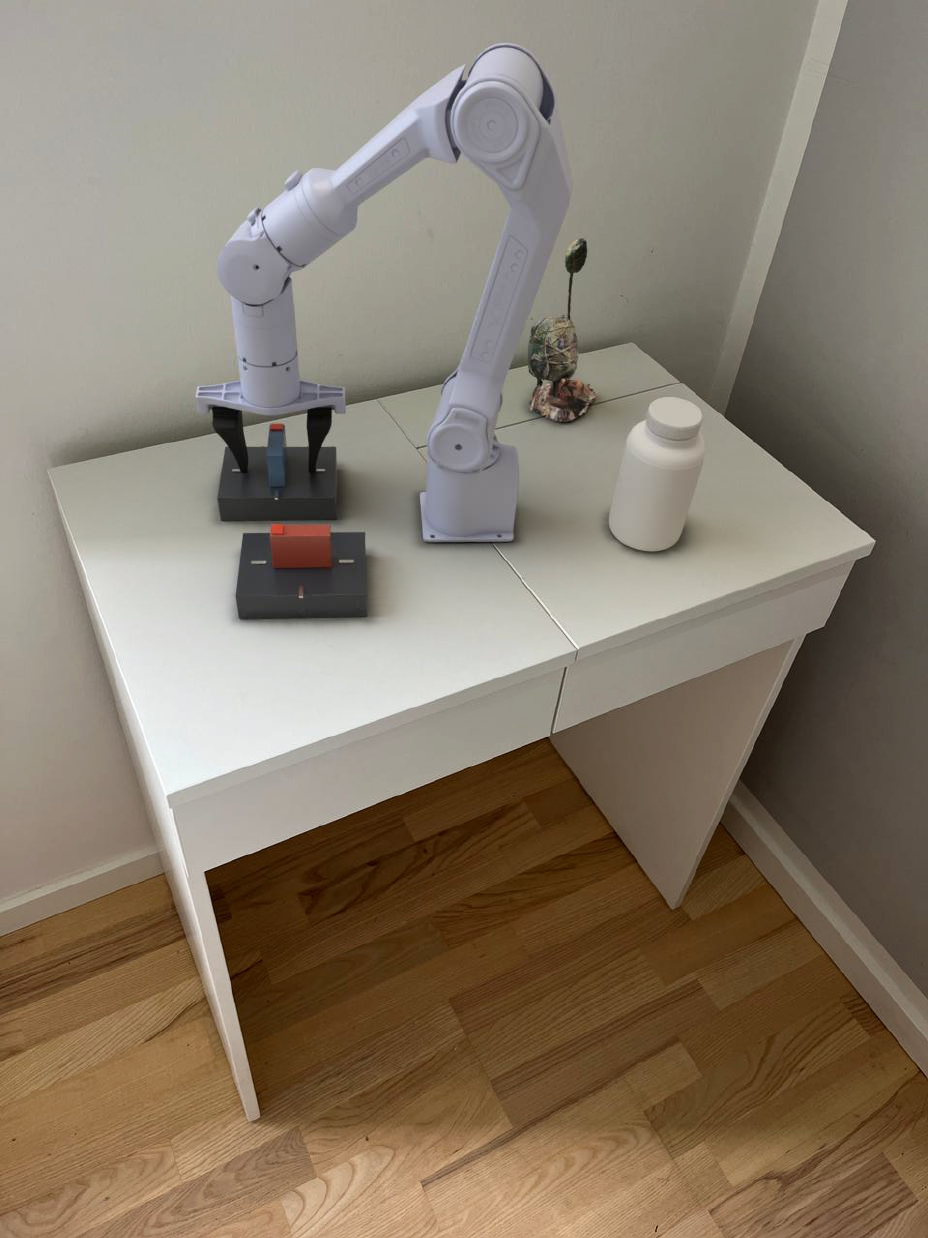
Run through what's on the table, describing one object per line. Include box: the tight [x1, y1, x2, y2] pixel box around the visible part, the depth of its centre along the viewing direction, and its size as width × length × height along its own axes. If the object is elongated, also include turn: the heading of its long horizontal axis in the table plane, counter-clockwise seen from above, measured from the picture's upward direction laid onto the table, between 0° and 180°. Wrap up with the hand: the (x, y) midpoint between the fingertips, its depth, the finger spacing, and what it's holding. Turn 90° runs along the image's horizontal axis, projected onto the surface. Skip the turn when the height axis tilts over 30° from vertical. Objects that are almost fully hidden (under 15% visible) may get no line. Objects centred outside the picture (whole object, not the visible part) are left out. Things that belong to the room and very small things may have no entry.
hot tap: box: [269, 523, 332, 568], centre depth 89 cm, size 6×2×4 cm, turn 95°
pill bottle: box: [608, 396, 707, 552], centre depth 97 cm, size 8×8×15 cm
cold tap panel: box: [217, 446, 338, 521], centre depth 102 cm, size 12×10×3 cm
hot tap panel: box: [235, 531, 368, 620], centre depth 92 cm, size 12×10×3 cm
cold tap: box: [266, 423, 288, 487], centre depth 99 cm, size 6×2×4 cm, turn 5°
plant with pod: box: [527, 237, 597, 423], centre depth 111 cm, size 8×11×20 cm
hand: (278, 467), depth 100 cm, fingers open, 6 cm apart
